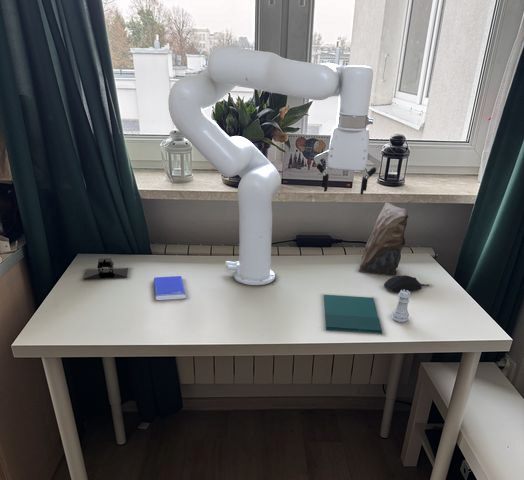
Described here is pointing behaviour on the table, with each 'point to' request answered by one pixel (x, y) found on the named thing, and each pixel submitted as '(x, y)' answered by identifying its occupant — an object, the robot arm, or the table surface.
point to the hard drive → (169, 288)
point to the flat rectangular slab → (351, 314)
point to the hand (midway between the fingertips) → (343, 191)
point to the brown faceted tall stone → (385, 242)
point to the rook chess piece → (402, 307)
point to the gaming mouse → (403, 284)
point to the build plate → (106, 270)
